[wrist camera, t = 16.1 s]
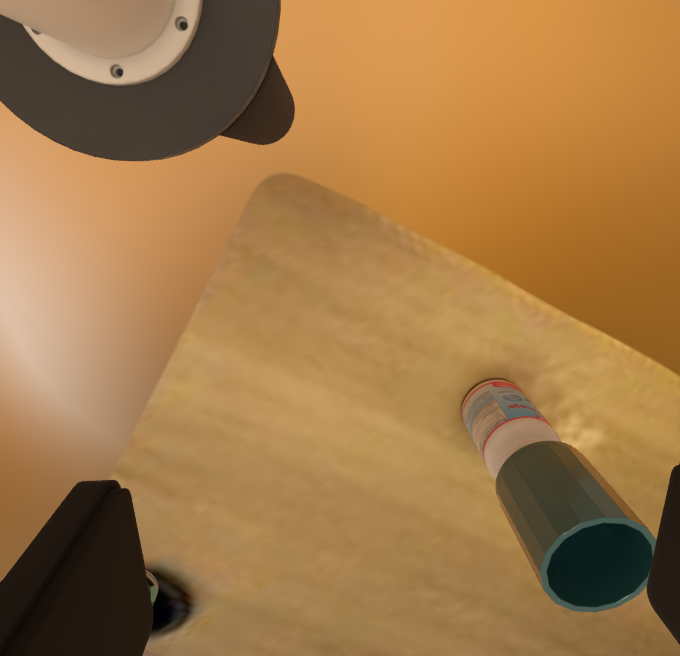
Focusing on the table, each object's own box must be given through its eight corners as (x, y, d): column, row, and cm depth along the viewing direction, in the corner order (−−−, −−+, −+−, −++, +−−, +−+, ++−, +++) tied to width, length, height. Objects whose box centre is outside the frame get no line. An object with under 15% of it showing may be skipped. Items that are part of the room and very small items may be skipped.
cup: (477, 498, 36) (517, 587, 29) (531, 425, 34) (589, 499, 27) (551, 532, 37) (609, 627, 30) (607, 463, 36) (684, 545, 28)
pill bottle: (537, 400, 46) (600, 472, 36) (492, 446, 48) (541, 527, 37) (490, 364, 45) (541, 427, 35) (446, 412, 47) (482, 487, 36)
